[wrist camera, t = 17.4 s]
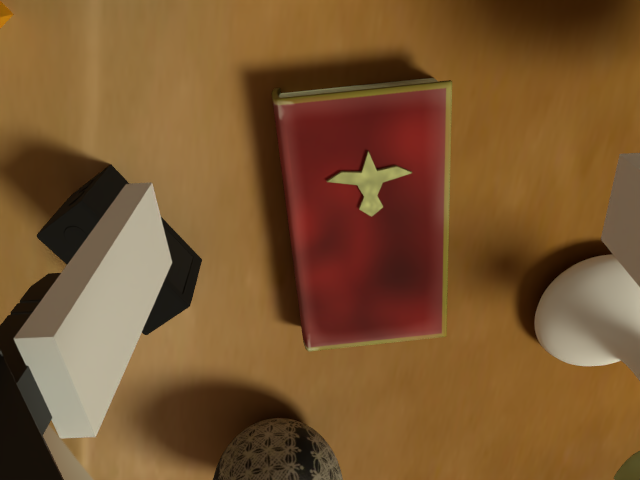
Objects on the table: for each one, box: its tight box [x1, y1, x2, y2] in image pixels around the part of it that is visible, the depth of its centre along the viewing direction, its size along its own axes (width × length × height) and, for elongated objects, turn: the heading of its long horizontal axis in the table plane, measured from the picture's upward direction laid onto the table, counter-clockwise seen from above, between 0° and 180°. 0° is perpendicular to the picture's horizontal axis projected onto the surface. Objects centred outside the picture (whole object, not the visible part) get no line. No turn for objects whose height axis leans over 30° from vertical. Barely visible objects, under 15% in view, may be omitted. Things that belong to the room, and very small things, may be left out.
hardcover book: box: [272, 78, 452, 351], centre depth 43 cm, size 12×21×4 cm, turn 5°
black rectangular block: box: [37, 165, 202, 335], centre depth 41 cm, size 10×5×7 cm, turn 35°
